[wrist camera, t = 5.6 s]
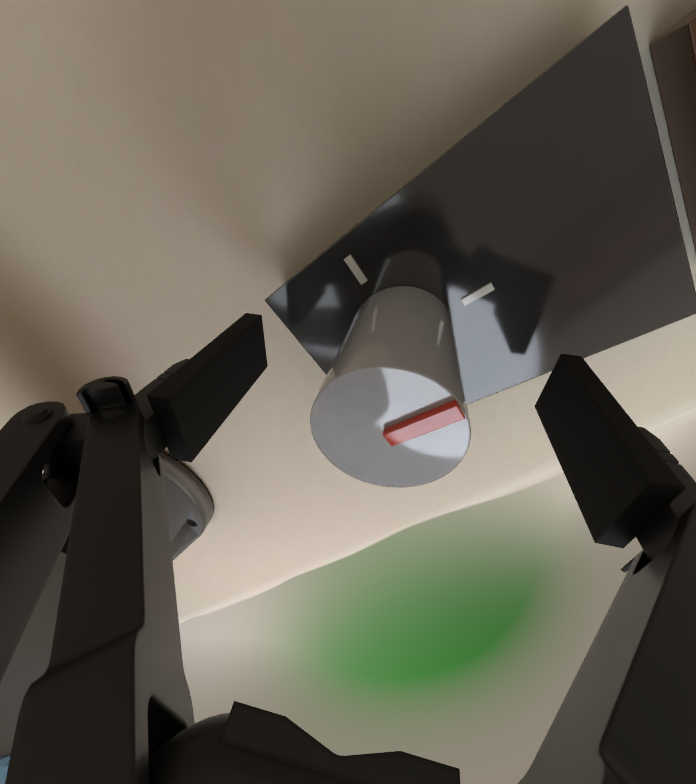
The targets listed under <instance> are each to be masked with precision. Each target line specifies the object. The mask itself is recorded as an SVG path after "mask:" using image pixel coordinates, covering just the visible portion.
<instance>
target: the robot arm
mask: <svg viewBox="0 0 696 784" xmlns="http://www.w3.org/2000/svg"><path fill="white" fill-rule="evenodd" d="M266 367H267V358H266V349H265V341H264V332H263V323H262V315H257V314H249V313H246V314H244V315H243V316H242V317H241V318H239V319H238V320H237V321H236V322H235V323H233V324H232V325H231V326H230V327H229V328H227V329H226V330H225V331H224V332H222V333H221V334H220V335H219V336H218V337H216V338H215V339H214V340H213V341H212V342H210V343H209V344H208V345H207V346H205V347H204V348H203V349H202V350H201V351H199V352H198V353H197V354H196V355H195V356H193V357H192V358H191V359H185V360H182V361H180V362H178V363H176V364H173V365H172V366H171V367H170V368H168V369H167V370H166V371H165V372H164V374H163V373H162V374H161V375H159V376H158V377H157V379H154V380H153V381H152V382H151V383H149V384H148V385H147V386H146V387H144V388H143V389H142V390H141V391H139V392H138V393H137V394H135V395H134V394H133V391H132V389H131V386H130V384H129V382H128V380H127V379H125V378H123V377H116V376H113V377H104V378H100V379H97V380H94V381H91V382H89V383H87V384H85V385H84V386H83V387H81V388H80V389H79V390H78V392H77V393H76V395H77V397H78V398H79V400H80V402H81V404H82V406H83V407H84V409H85V411H86V413H80V414H69V412H68V411H67V409H66V407H65V406H64V404H63V403H60V402H43V403H37V404H34V405H31V406H28V407H26V408H25V409H23V410H21V411H19V412H18V413H16V414H15V415H14V416H13V417H12V418H11V419H10V420H9V421H8V422H7V423H6V424H5V426H4V427H3V428H2V429H1V430H0V784H460V772H459V769H458V768H455V767H451V766H448V765H445V764H441V763H438V762H435V761H431V760H428V759H425V758H421V757H418V756H415V755H411V754H408V753H405V752H402V751H395V752H384V753H373V754H361V755H351V756H339V755H336V754H334V753H333V752H331V751H330V750H329V749H327V748H326V747H325V746H324V745H322V744H321V743H320V742H318V741H317V740H316V739H314V738H313V737H312V736H310V735H309V734H308V733H306V732H305V731H304V730H303V729H301V728H300V727H299V726H297V725H296V724H295V723H293V722H292V721H291V720H289V719H288V718H287V717H285V716H282V715H278V714H275V713H272V712H269V711H265V710H262V709H259V708H256V707H252V706H249V705H246V704H242V703H239V702H236V701H234V704H233V706H232V709H231V712H230V713H224V714H220V715H216V716H212V717H209V718H207V719H204V720H202V721H199V722H197V723H195V724H194V715H193V707H192V701H191V696H190V691H189V688H188V684H187V681H186V678H185V674H184V669H183V662H182V652H181V642H180V632H179V622H178V612H177V602H176V592H175V582H174V572H173V562H172V561H173V560H174V559H175V558H176V557H177V556H178V555H179V554H181V553H182V552H183V551H184V550H185V549H186V548H187V547H188V546H189V545H190V544H191V543H193V542H194V541H195V540H196V539H197V538H198V537H199V536H201V534H202V533H203V531H204V530H205V528H206V526H207V525H208V523H209V521H210V520H211V518H212V516H213V504H212V500H211V498H210V496H209V494H208V492H207V490H206V489H205V487H204V486H203V485H202V484H201V482H200V481H199V480H198V479H197V478H196V477H195V476H194V475H193V474H192V473H191V472H190V471H189V470H188V469H186V468H185V467H184V466H183V465H181V464H180V463H179V462H177V461H176V460H174V459H178V460H183V461H188V462H192V461H193V460H194V459H195V457H196V456H197V455H198V453H199V452H200V451H201V450H202V448H203V447H204V446H205V445H206V443H207V442H208V441H209V440H210V438H211V437H212V436H213V435H214V433H215V432H216V431H217V429H218V428H219V427H220V426H221V424H222V423H223V422H224V421H225V419H226V418H227V417H228V416H229V414H230V413H231V412H232V410H233V409H234V408H235V407H236V405H237V404H238V403H239V402H240V400H241V399H242V398H243V397H244V395H245V394H246V393H247V391H248V390H249V389H250V388H251V386H252V385H253V384H254V383H255V381H256V380H257V379H258V378H259V376H260V375H261V374H262V373H263V371H264V370H265V369H266ZM535 408H536V410H537V413H538V415H539V417H540V419H541V422H542V424H543V426H544V428H545V431H546V433H547V435H548V438H549V440H550V442H551V444H552V447H553V449H554V451H555V453H556V456H557V458H558V460H559V462H560V465H561V467H562V469H563V471H564V474H565V476H566V478H567V481H568V483H569V485H570V487H571V490H572V492H573V494H574V496H575V499H576V501H577V503H578V505H579V508H580V510H581V512H582V514H583V516H584V519H585V521H586V524H587V526H588V528H589V530H590V533H591V535H592V537H593V539H594V541H595V543H599V544H604V545H610V546H615V547H620V548H624V547H625V546H626V545H627V544H628V543H629V542H630V541H632V539H634V538H635V537H637V539H638V541H639V543H640V545H641V546H642V548H643V550H642V551H641V552H640V553H639V554H637V555H636V556H635V557H634V558H633V559H632V560H631V561H630V562H629V563H627V564H626V565H625V566H624V567H623V568H622V569H621V570H622V571H623V572H627V571H628V572H627V574H626V576H625V578H624V580H623V582H622V584H621V586H620V588H619V590H618V592H617V594H616V596H615V598H614V600H613V602H612V604H611V606H610V608H609V610H608V613H607V614H606V616H605V618H604V620H603V622H602V624H601V627H600V628H599V630H598V633H597V635H596V637H595V638H594V641H593V643H592V644H591V646H590V648H589V651H588V653H587V655H586V657H585V659H584V661H583V663H582V665H581V667H580V669H579V671H578V673H577V675H576V677H575V679H574V681H573V683H572V685H571V687H570V689H569V691H568V693H567V695H566V697H565V699H564V701H563V703H562V705H561V707H560V709H559V711H558V713H557V715H556V717H555V719H554V721H553V723H552V725H551V727H550V729H549V731H548V733H547V735H546V737H545V739H544V741H543V743H542V745H541V747H540V749H539V751H538V753H537V755H536V757H535V759H534V761H533V763H532V765H531V767H530V768H529V770H528V772H527V773H526V775H525V776H524V777H523V778H522V779H521V780H520V782H519V783H518V784H696V482H695V481H694V479H693V478H692V477H691V476H690V475H689V474H688V472H687V471H686V470H685V469H684V468H683V466H681V465H679V462H678V460H677V459H676V458H675V457H674V456H673V455H672V454H670V451H669V450H668V449H667V447H666V446H665V445H664V444H663V443H662V442H661V440H660V439H658V438H657V437H656V436H654V435H653V434H652V433H650V432H649V431H648V430H646V429H645V428H642V427H637V426H636V425H635V423H634V422H633V421H632V420H631V418H630V417H629V416H628V414H627V413H626V412H625V411H624V409H623V408H622V407H621V406H620V404H619V403H618V402H617V401H616V399H615V398H614V397H613V396H612V394H611V393H610V392H609V391H608V389H607V388H606V387H605V386H604V384H603V383H602V382H601V381H600V379H599V378H598V377H597V376H596V374H595V373H594V372H593V371H592V369H591V368H590V367H589V366H588V364H587V363H586V362H585V361H584V359H583V358H582V357H581V356H576V355H568V354H560V356H559V358H558V360H557V362H556V364H555V366H554V368H553V370H552V373H551V375H550V377H549V379H548V381H547V383H546V385H545V387H544V389H543V391H542V393H541V395H540V397H539V399H538V401H537V403H536V405H535ZM166 447H167V448H168V450H169V453H170V456H171V457H170V456H168V455H166V454H165V453H163V452H162V451H163V450H164V449H165V448H166ZM43 470H44V473H43V474H42V471H43Z"/></svg>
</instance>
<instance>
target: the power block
mask: <svg viewBox="0 0 696 784" xmlns="http://www.w3.org/2000/svg"><path fill="white" fill-rule="evenodd" d="M650 49H651V54H652V58H653V63H654V67H655V72H656V76H657V81H658V85H659V90H660V94H661V98H662V103H663V107H664V112H665V116H666V121H667V125H668V130H669V134H670V139H671V143H672V148H673V152H674V157H675V161H676V165H677V170H678V174H679V179H680V183H681V188H682V192H683V197H684V201H685V206H686V210H687V215H688V219H689V224H690V228H691V233H692V237H693V241H694V246H695V250H696V10H694V11H693V12H692V13H690V14H689V15H687V16H686V17H685V18H683V19H682V20H681V21H679V22H678V23H677V24H675V25H674V26H673V27H671V28H670V29H669V30H667V31H666V32H665V33H663V34H662V35H661V36H659V37H658V38H657V39H655V40H654V41H653V42H651V43H650Z"/></svg>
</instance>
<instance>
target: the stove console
mask: <svg viewBox="0 0 696 784" xmlns="http://www.w3.org/2000/svg"><path fill="white" fill-rule="evenodd" d="M396 286H410V287H416V288H420V289H423V290H425V291H427V292H429V293H431V294H433V295H434V296H436V297H437V298H438V299H439V300H440V301H441V302H442V303H443V304H444V305H445V306H446V308H447V309H448V311H449V312H450V314H451V317H452V320H453V323H454V329H455V335H456V341H457V347H458V353H459V359H460V365H461V372H462V378H463V384H464V390H465V396H466V402H467V404H470V403H472V402H475V401H477V400H480V399H482V398H485V397H487V396H490V395H492V394H495V393H497V392H500V391H503V390H505V389H508V388H510V387H513V386H515V385H518V384H520V383H523V382H525V381H528V380H530V379H533V378H535V377H538V376H540V375H543V374H545V373H548V372H550V371H552V370H553V368H554V366H555V364H556V362H557V360H558V358H559V356H560V354H568V355H576V356H581V357H582V358H585V357H588V356H590V355H593V354H596V353H598V352H601V351H603V350H606V349H608V348H611V347H613V346H616V345H618V344H621V343H623V342H626V341H628V340H631V339H633V338H636V337H638V336H641V335H643V334H646V333H648V332H651V331H653V330H656V329H658V328H661V327H663V326H666V325H668V324H671V323H673V322H676V321H678V320H681V319H683V318H686V317H689V316H691V315H694V314H696V291H695V287H694V283H693V278H692V274H691V270H690V266H689V261H688V257H687V253H686V249H685V245H684V240H683V236H682V232H681V228H680V223H679V219H678V215H677V211H676V206H675V202H674V198H673V194H672V189H671V185H670V181H669V177H668V173H667V168H666V164H665V160H664V156H663V151H662V147H661V143H660V139H659V134H658V130H657V126H656V122H655V118H654V113H653V109H652V105H651V101H650V96H649V92H648V88H647V84H646V79H645V75H644V71H643V67H642V62H641V58H640V54H639V50H638V46H637V41H636V37H635V33H634V29H633V24H632V20H631V16H630V12H629V7H628V5H627V6H625V7H624V8H622V9H621V10H620V11H618V12H617V13H616V14H615V15H613V16H612V17H611V18H610V19H608V20H607V21H606V22H605V23H603V24H602V25H601V26H600V27H598V28H597V29H596V30H595V31H593V32H592V33H591V34H590V35H588V36H587V37H586V38H585V39H583V40H582V41H581V42H580V43H579V44H577V45H576V46H575V47H574V48H572V49H571V50H570V51H569V52H567V53H566V54H565V55H564V56H563V57H561V58H560V59H559V60H558V61H556V62H555V63H554V64H553V65H552V66H550V67H549V68H548V69H547V70H545V71H544V72H543V73H542V74H541V75H539V76H538V77H537V78H536V79H534V80H533V81H532V82H531V83H529V84H528V85H527V86H526V87H525V88H523V89H522V90H521V91H520V92H518V93H517V94H516V95H515V96H514V97H512V98H511V99H510V100H509V101H507V102H506V103H505V104H504V105H503V106H501V107H500V108H499V109H498V110H496V111H495V112H494V113H493V114H491V115H490V116H489V117H488V118H487V119H485V120H484V121H483V122H482V123H480V124H479V125H478V126H477V127H476V128H474V129H473V130H472V131H471V132H469V133H468V134H467V135H466V136H464V137H463V138H462V139H461V140H460V141H458V142H457V143H456V144H455V145H453V146H452V147H451V148H450V149H449V150H447V151H446V152H445V153H444V154H442V155H441V156H440V157H439V158H438V159H436V160H435V161H434V162H433V163H431V164H430V165H429V166H428V167H426V168H425V169H424V170H423V171H422V172H420V173H419V174H418V175H417V176H415V177H414V178H413V179H412V180H411V181H409V182H408V183H407V184H406V185H404V186H403V187H402V188H401V189H400V190H398V191H397V192H396V193H395V194H393V195H392V196H391V197H390V198H388V199H387V200H386V201H385V202H384V203H382V204H381V205H380V206H379V207H377V208H376V209H375V210H374V211H373V212H371V213H370V214H369V215H368V216H366V217H365V218H364V219H363V220H362V221H360V222H359V223H358V224H357V225H355V226H354V227H353V228H352V229H350V230H349V231H348V232H347V233H346V234H344V235H343V236H342V237H341V238H339V239H338V240H337V241H336V242H335V243H333V244H332V245H331V246H330V247H328V248H327V249H326V250H325V251H323V252H322V253H321V254H320V255H319V256H317V257H316V258H315V259H314V260H312V261H311V262H310V263H309V264H308V265H306V266H305V267H304V268H303V269H301V270H300V271H299V272H298V273H297V274H295V275H294V276H293V277H292V278H290V279H289V280H288V281H287V282H285V283H284V284H283V285H282V286H281V287H279V288H278V289H277V290H276V291H275V292H274V293H272V294H271V295H270V296H269V297H268V298H266V299H265V301H266V303H267V304H268V305H269V306H270V307H271V309H272V310H273V311H274V312H275V313H276V315H277V316H278V317H279V318H280V319H281V321H282V322H283V323H284V324H285V325H286V327H287V328H288V329H289V330H290V331H291V333H292V334H293V335H294V336H295V337H296V339H297V340H298V341H299V342H300V343H301V345H302V346H303V347H304V348H305V349H306V351H307V352H308V353H309V354H310V355H311V357H312V358H313V359H314V360H315V361H316V363H317V364H318V365H319V366H320V367H321V369H322V370H323V371H324V372H325V373H326V375H327V373H328V371H329V369H330V367H331V365H332V363H333V361H334V359H335V357H336V355H337V353H338V350H339V348H340V346H341V344H342V342H343V340H344V338H345V336H346V334H347V332H348V329H349V327H350V325H351V323H352V321H353V319H354V317H355V315H356V313H357V311H358V309H359V308H360V307H361V305H362V304H363V303H364V302H365V301H366V300H367V299H368V298H369V297H371V296H372V295H374V294H375V293H377V292H379V291H381V290H384V289H387V288H391V287H396Z"/></svg>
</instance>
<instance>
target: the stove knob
mask: <svg viewBox="0 0 696 784" xmlns="http://www.w3.org/2000/svg"><path fill="white" fill-rule="evenodd" d="M310 424H311V430H312V434H313V437H314V440H315V442H316V444H317V446H318V448H319V449H320V451H321V452H322V453H323V455H324V456H325V457H326V458H327V459H328V460H329V461H330V462H331V463H332V464H333V465H334V466H336V467H337V468H338V469H340V470H341V471H343V472H344V473H346V474H348V475H350V476H352V477H354V478H356V479H358V480H361V481H363V482H367V483H370V484H374V485H379V486H385V487H399V488H400V487H413V486H419V485H423V484H427V483H430V482H432V481H435V480H437V479H439V478H441V477H443V476H445V475H446V474H448V473H449V472H451V471H452V470H453V469H454V468H455V467H456V466H457V465H458V464H459V463H460V462H461V460H462V459H463V457H464V456H465V454H466V452H467V449H468V447H469V443H470V439H471V427H470V421H469V414H468V408H467V402H466V396H465V390H464V384H463V378H462V372H461V365H460V359H459V353H458V347H457V341H456V335H455V329H454V323H453V320H452V317H451V314H450V312H449V311H448V309H447V308H446V306H445V305H444V304H443V303H442V302H441V301H440V300H439V299H438V298H437V297H436V296H434V295H433V294H431V293H429V292H427V291H425V290H423V289H420V288H416V287H410V286H396V287H391V288H387V289H384V290H381V291H379V292H377V293H375V294H374V295H372V296H371V297H369V298H368V299H367V300H366V301H365V302H364V303H363V304H362V305H361V307H360V308H359V309H358V311H357V313H356V315H355V317H354V319H353V321H352V323H351V325H350V327H349V329H348V332H347V334H346V336H345V338H344V340H343V342H342V344H341V346H340V348H339V350H338V353H337V355H336V357H335V359H334V361H333V363H332V365H331V367H330V369H329V371H328V373H327V376H326V378H325V380H324V382H323V384H322V386H321V388H320V390H319V392H318V394H317V397H316V399H315V401H314V403H313V406H312V410H311V415H310Z"/></svg>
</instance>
